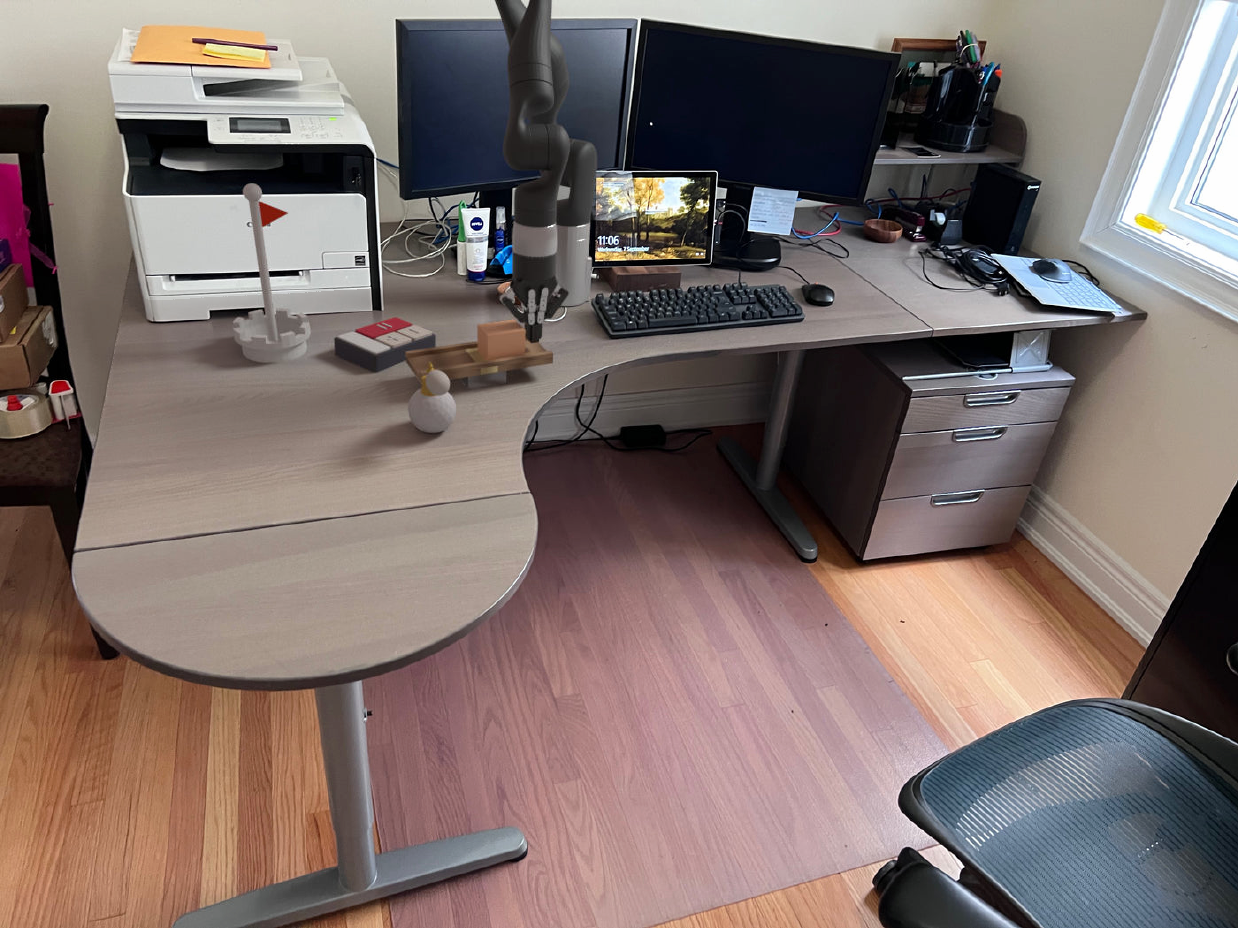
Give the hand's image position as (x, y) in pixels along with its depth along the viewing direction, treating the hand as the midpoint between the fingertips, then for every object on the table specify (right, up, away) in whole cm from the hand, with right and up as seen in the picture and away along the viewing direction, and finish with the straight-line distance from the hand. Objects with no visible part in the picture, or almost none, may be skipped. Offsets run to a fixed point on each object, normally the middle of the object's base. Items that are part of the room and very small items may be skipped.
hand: (532, 341), depth 162 cm
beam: (-9, -7, -1) cm, 11 cm away
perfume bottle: (-14, -17, -17) cm, 28 cm away
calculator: (-28, -2, +6) cm, 28 cm away
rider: (-5, -2, -2) cm, 6 cm away
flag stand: (-47, -1, +3) cm, 47 cm away
